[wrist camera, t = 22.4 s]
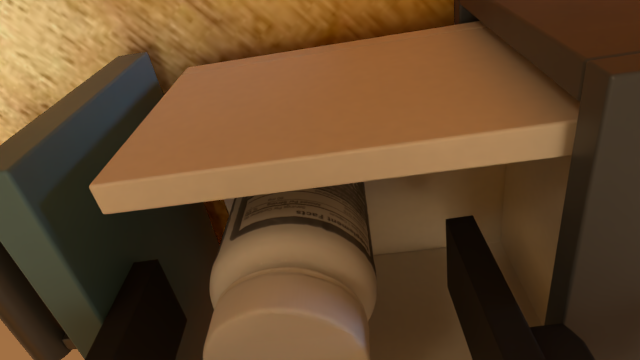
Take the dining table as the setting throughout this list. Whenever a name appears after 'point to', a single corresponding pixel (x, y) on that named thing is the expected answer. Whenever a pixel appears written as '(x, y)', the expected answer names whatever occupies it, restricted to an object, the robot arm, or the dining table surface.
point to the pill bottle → (294, 278)
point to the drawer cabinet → (589, 157)
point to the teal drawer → (288, 179)
